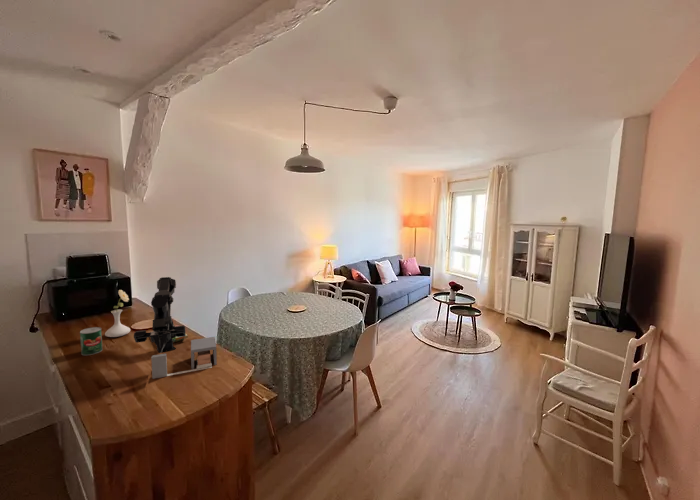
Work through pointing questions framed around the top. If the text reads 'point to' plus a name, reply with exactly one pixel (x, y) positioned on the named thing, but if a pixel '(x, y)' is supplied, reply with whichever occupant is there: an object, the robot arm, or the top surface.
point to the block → (204, 357)
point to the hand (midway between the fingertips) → (160, 352)
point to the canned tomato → (91, 341)
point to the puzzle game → (179, 337)
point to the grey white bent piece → (161, 366)
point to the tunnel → (203, 348)
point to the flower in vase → (118, 319)
